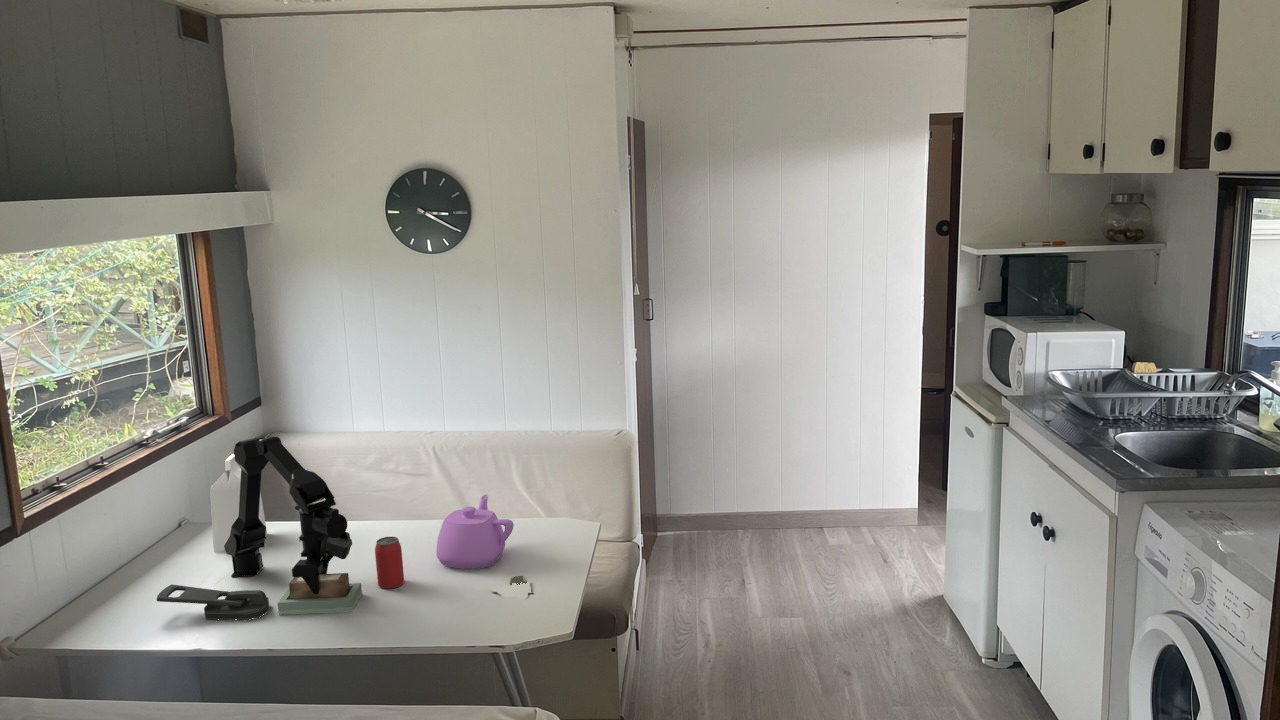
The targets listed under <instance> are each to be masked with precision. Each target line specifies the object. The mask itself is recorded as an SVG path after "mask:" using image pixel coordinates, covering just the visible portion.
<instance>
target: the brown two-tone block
mask: <svg viewBox="0 0 1280 720" xmlns="http://www.w3.org/2000/svg"><path fill="white" fill-rule="evenodd" d="M349 579H350V577H349V572H341V573H340V572H339V573H338V572H336V573H327V574H320V584H319V593H318V594H314V593H313V592H312V591H311V589H310V588H309V586H308V585H307V583H306V582H305V581H304V579H303V578H302V577H293V578H291V580H290V581H289V583H288V589H289V590H290V599H291V600H294V599H316V598H339V597H346V595H347V594H348V592H349V590H350V587H349V584H350V580H349Z"/></svg>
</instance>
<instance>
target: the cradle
mask: <svg viewBox="0 0 1280 720" xmlns="http://www.w3.org/2000/svg"><path fill="white" fill-rule="evenodd" d="M349 587H350V590H349V592H348V594H347V595H346V597H339V598H316V599H294V600H291V599H290V590H289V588H288V589H287V590H286V591H285V593H284V594H283V595H282V596H281V597H280V599H279V601H277V615H278V614H279V615H278V616H280V615H281V616H282V614H284V615H286V614H287V615H303V614H307V615H308V614H325V613H326V614H327V613H329V614H330V613H349V612H350V613H351V612H353V610H354V609H355V607H356V605H357V603H358V602H359V600H360V598H361V597H362V595H363V590H362V589H363V588H362V583H361V582H352V583H350V582H349Z"/></svg>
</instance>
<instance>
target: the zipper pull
mask: <svg viewBox="0 0 1280 720" xmlns="http://www.w3.org/2000/svg"><path fill="white" fill-rule="evenodd" d="M176 591H179V592H180V591H182V593H181V594H180V595H179V596H176V597H174V596H173V597H172V596H171V595H172V594H173V593H175V592H176ZM222 597H225V598H222ZM220 598H222V599H220ZM156 601H157V602H163V603H180V604H181V603H183V604H198V605H199V604H201V605H202V604H203V605H205V606H204V608H203V610H204V612H203V613H204V617H205V620H206V621H244V620H247V621H250V620H249V619H252V618H257V619H260V618H261V617H263V616H264V615H266V614H267V613H268V612H269V610H270V601H269V597H267V595H266V592H265V591H262V590H260V589H254V590H253V589H252V590H251V589H250V590H246V589H245V590H244V589H243V590H232V591H228V590H227V591H226V590H225V591H224V590H216V589H211V588H202V587H193V586H187V585H179V584H170V585H168V586H166V587H165V588H164V589H162V590H161V591H160V592H159V593H158V594H157V596H156ZM267 611H268V612H267ZM266 612H267V613H266ZM265 613H266V614H265ZM263 614H264V615H263ZM262 615H263V616H262ZM260 616H261V617H260ZM259 617H260V618H259ZM218 619H219V620H218ZM235 619H237V620H235ZM252 620H253V619H252Z"/></svg>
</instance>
